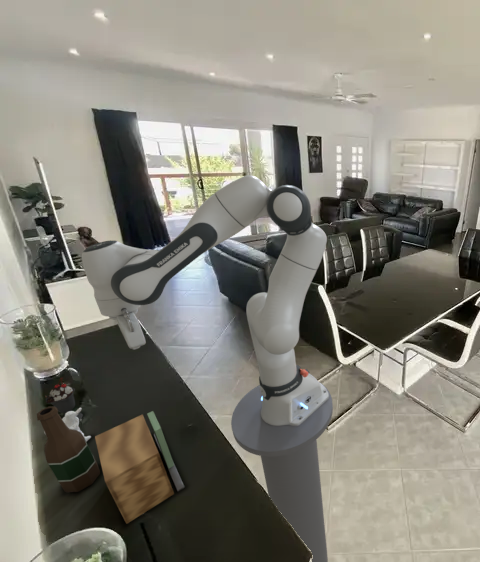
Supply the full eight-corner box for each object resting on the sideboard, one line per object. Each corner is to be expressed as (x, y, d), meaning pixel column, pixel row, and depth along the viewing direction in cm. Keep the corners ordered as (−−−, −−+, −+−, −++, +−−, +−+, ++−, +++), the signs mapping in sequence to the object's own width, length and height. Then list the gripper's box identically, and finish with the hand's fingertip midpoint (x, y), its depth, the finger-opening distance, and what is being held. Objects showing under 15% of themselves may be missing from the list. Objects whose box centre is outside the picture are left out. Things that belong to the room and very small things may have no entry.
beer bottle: (105, 461, 89) (72, 394, 79) (97, 486, 83) (60, 417, 73) (69, 472, 86) (31, 404, 76) (58, 499, 80) (14, 429, 70)
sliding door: (167, 446, 93) (154, 410, 87) (175, 464, 88) (162, 427, 82) (160, 450, 92) (146, 413, 86) (168, 468, 87) (154, 431, 81)
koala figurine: (94, 430, 98) (79, 401, 94) (97, 444, 94) (82, 414, 89) (57, 448, 93) (39, 417, 88) (58, 463, 89) (40, 431, 84)
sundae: (89, 408, 106) (72, 372, 100) (81, 424, 101) (62, 386, 95) (65, 414, 104) (46, 377, 98) (54, 430, 99) (33, 392, 93)
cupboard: (159, 431, 98) (145, 394, 92) (184, 487, 83) (170, 446, 77) (109, 457, 90) (90, 418, 84) (126, 524, 75) (104, 481, 69)
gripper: (143, 312, 79) (158, 358, 85) (127, 287, 92) (140, 328, 98) (111, 321, 75) (129, 369, 81) (99, 294, 88) (115, 336, 94)
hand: (135, 346), depth 89 cm, fingers closed
